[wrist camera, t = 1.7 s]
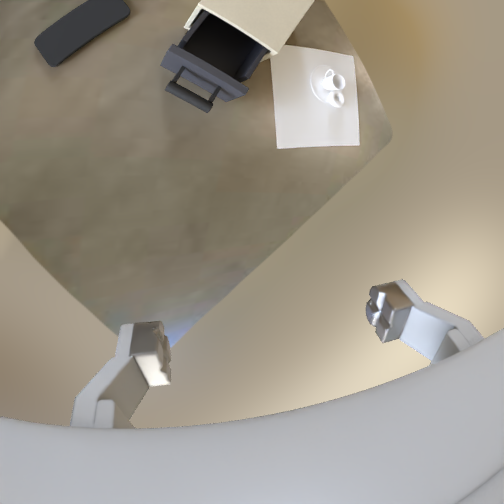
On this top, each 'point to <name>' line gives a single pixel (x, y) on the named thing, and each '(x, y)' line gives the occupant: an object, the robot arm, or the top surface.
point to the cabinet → (257, 19)
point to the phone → (79, 28)
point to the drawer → (213, 61)
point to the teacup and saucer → (314, 98)
